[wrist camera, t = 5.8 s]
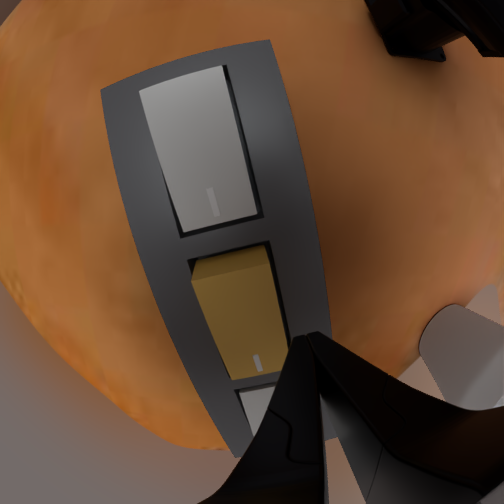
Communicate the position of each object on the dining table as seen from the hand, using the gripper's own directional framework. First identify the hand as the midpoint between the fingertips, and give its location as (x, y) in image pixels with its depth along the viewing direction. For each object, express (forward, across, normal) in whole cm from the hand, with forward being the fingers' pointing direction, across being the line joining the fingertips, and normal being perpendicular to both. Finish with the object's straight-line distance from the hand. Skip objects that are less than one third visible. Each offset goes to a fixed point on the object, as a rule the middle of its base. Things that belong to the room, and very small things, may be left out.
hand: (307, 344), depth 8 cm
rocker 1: (+7, +2, -7) cm, 10 cm away
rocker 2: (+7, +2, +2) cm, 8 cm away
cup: (+11, -15, +13) cm, 23 cm away
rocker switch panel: (+11, +2, +2) cm, 11 cm away
